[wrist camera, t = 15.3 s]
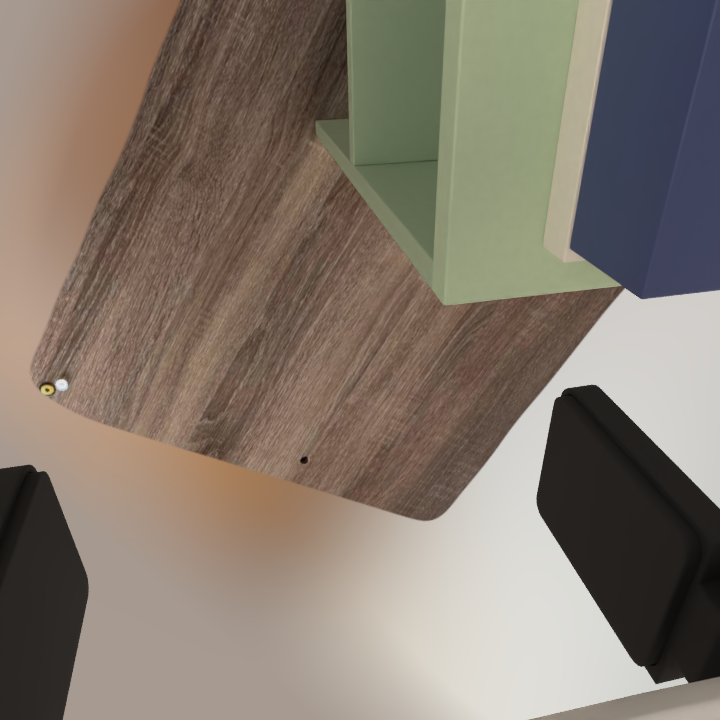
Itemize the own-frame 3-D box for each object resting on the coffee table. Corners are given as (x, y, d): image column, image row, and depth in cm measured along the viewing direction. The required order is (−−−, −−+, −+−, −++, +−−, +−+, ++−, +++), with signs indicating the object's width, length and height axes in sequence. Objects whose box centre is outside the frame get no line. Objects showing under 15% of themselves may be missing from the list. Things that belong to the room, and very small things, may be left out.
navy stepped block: (541, 246, 21) (633, 316, 17) (608, -204, 15) (785, -294, 10) (666, 234, 22) (787, 298, 18) (778, -197, 16) (1012, -277, 11)
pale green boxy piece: (315, 135, 49) (443, 306, 22) (302, -114, 40) (482, -331, 14) (456, 127, 51) (730, 274, 24) (471, -112, 42) (919, -298, 16)
